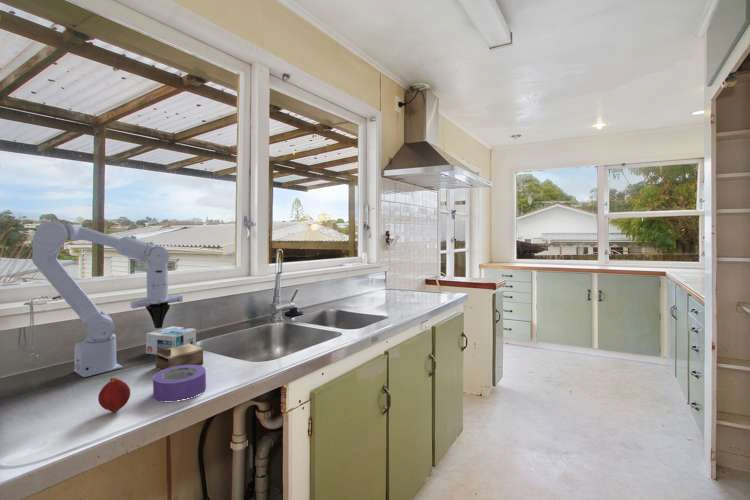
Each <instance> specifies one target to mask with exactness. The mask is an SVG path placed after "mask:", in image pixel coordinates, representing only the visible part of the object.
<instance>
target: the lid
mask: <svg viewBox="0 0 750 500" xmlns="http://www.w3.org/2000/svg"><path fill="white" fill-rule="evenodd" d="M199 351H203V352H204V348H202V347H200V346H197V345H196V346H194V345H192V344H186V345H182V346H177V347H173V348H166V347H163V346H157V351H156V354H158V355H160V356H162V357H165V358H167V359H173V358H177V357H180V356H184V355H188V354H192V353H196V352H199Z"/></svg>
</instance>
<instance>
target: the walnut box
mask: <svg viewBox="0 0 750 500" xmlns="http://www.w3.org/2000/svg"><path fill="white" fill-rule="evenodd" d="M203 364H204V350H203V351H199V352H196V353H192V354H188V355H184V356H180V357H177V358H173V359H167V358H165V357H162V356H160V355H158V354H156V355H155V368H156V369H158V370H160V371H162V370H164V369H167V368H171V367H175V366H180V365H199V366H202V365H203Z"/></svg>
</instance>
